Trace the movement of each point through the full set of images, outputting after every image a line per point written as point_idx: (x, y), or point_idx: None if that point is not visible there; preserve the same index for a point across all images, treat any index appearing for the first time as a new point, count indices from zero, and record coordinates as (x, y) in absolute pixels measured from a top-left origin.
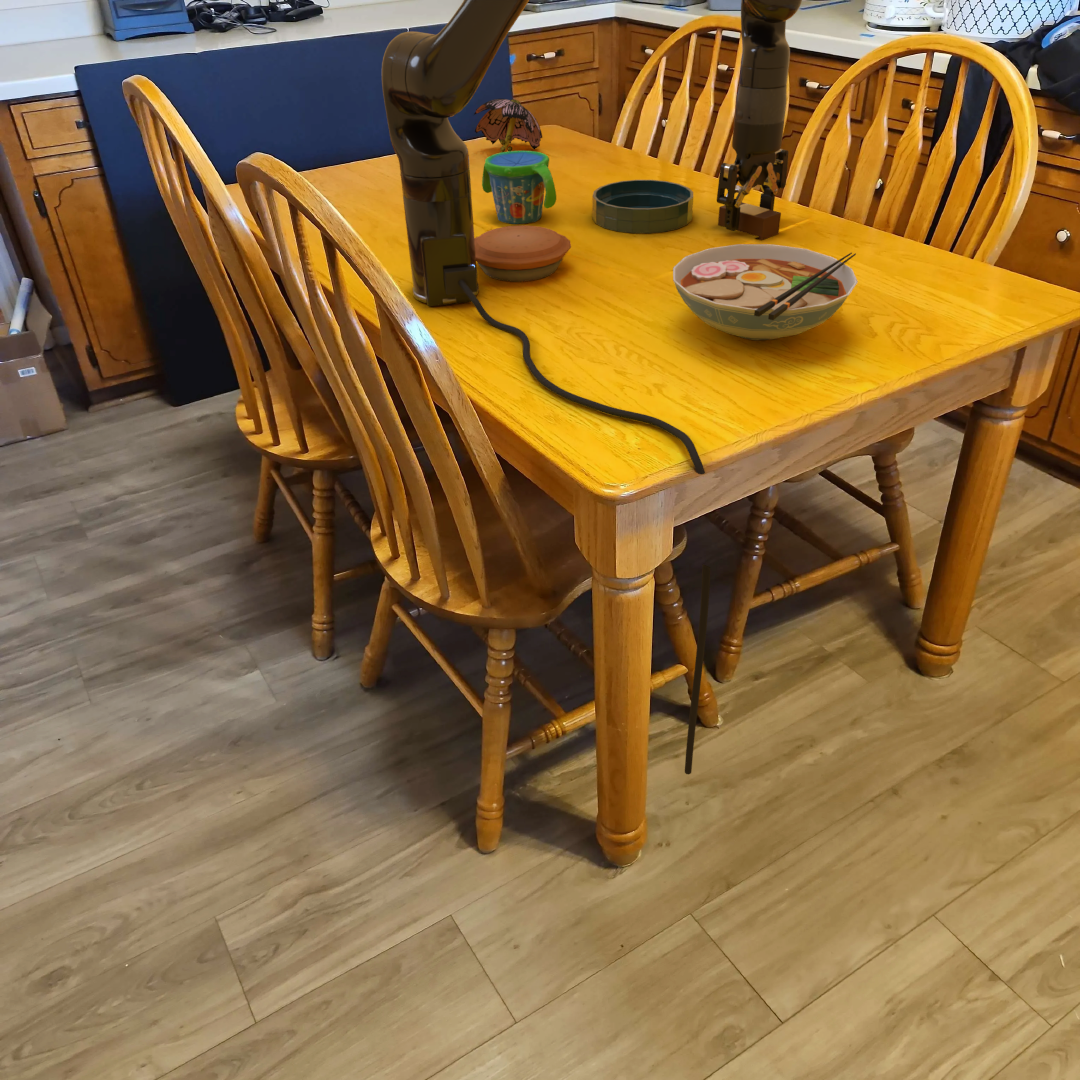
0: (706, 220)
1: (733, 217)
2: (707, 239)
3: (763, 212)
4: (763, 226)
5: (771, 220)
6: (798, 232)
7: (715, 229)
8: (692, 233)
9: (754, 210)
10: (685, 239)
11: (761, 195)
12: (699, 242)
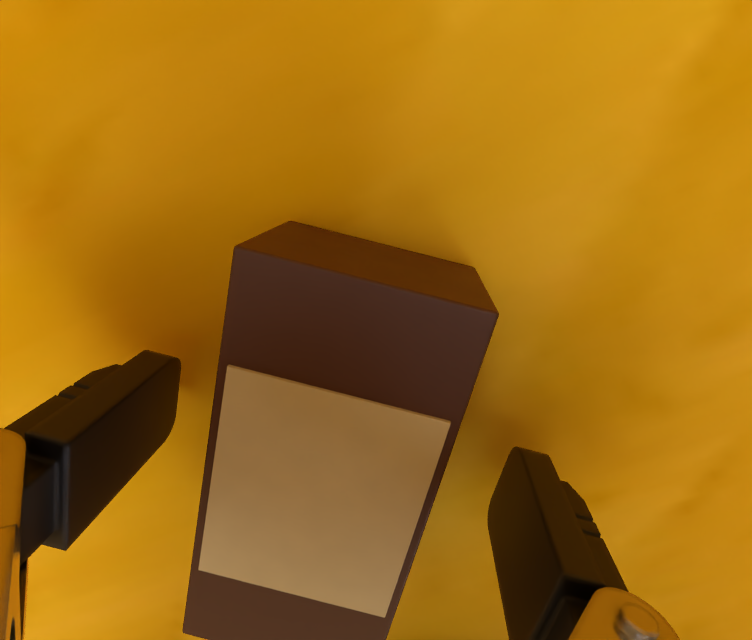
0: None
1: (586, 537)
2: None
3: (322, 385)
4: (482, 290)
5: (379, 271)
6: (176, 106)
7: None
8: None
9: (324, 463)
10: None
11: (76, 534)
12: (663, 556)
